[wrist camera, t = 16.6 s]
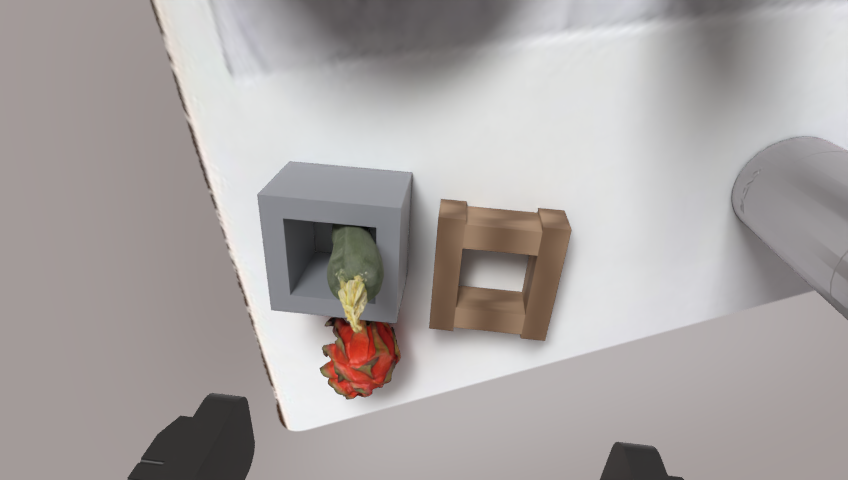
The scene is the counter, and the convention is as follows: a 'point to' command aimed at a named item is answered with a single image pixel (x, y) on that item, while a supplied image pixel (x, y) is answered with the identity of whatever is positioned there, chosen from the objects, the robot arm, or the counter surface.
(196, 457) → the robot arm
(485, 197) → the counter surface
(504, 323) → the board
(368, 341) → the dragon fruit
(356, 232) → the vegetable
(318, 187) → the holder
